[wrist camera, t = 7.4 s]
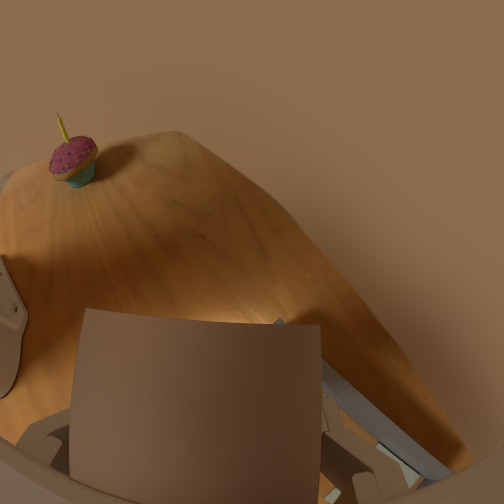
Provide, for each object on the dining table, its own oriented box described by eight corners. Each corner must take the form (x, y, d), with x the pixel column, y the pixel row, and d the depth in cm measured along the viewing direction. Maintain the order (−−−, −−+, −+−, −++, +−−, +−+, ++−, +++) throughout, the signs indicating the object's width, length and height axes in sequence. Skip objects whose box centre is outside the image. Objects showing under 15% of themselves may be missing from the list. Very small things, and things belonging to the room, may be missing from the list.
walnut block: (175, 452, 11) (73, 510, 3) (180, 367, 14) (85, 307, 5) (270, 459, 11) (311, 548, 3) (273, 373, 14) (320, 324, 5)
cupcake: (64, 171, 39) (37, 119, 28) (105, 153, 40) (83, 95, 30) (60, 204, 35) (24, 148, 24) (106, 184, 36) (77, 120, 26)
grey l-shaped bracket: (122, 451, 19) (103, 457, 16) (275, 329, 26) (279, 317, 23) (302, 590, 9) (308, 607, 6) (437, 473, 17) (458, 477, 13)
